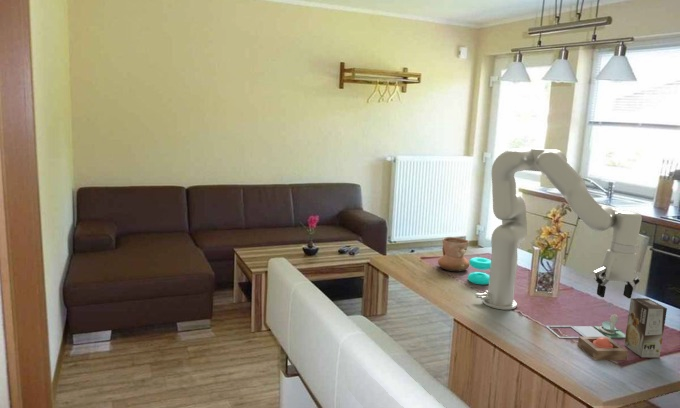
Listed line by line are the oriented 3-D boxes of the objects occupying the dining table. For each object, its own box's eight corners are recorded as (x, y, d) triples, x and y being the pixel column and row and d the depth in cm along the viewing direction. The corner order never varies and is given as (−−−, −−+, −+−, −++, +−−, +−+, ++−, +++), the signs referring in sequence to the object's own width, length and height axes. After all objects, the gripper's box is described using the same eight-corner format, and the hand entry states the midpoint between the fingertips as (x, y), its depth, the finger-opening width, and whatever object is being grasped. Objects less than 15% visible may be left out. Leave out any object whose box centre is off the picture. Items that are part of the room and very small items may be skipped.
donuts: (465, 256, 228) (485, 256, 231) (463, 278, 230) (483, 277, 232) (476, 263, 219) (497, 262, 221) (474, 286, 220) (495, 285, 223)
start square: (559, 338, 170) (559, 337, 170) (545, 326, 180) (545, 325, 180) (587, 338, 171) (587, 337, 171) (571, 326, 181) (571, 325, 181)
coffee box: (660, 358, 159) (668, 308, 157) (641, 357, 159) (649, 308, 156) (641, 344, 168) (648, 297, 166) (622, 344, 168) (629, 297, 165)
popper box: (595, 360, 156) (597, 350, 155) (577, 345, 166) (578, 336, 165) (626, 360, 157) (628, 350, 156) (606, 345, 167) (608, 336, 166)
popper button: (598, 355, 158) (600, 341, 157) (588, 347, 164) (590, 334, 163) (615, 355, 159) (617, 341, 158) (604, 347, 164) (606, 334, 163)
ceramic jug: (476, 273, 238) (479, 243, 236) (448, 274, 233) (450, 244, 231) (456, 263, 255) (459, 235, 253) (430, 264, 250) (432, 235, 248)
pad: (609, 338, 172) (609, 337, 172) (594, 327, 181) (594, 326, 181) (629, 338, 173) (629, 337, 173) (612, 327, 182) (612, 326, 182)
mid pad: (587, 338, 172) (587, 337, 172) (572, 327, 180) (572, 326, 180) (606, 338, 172) (606, 337, 172) (591, 327, 181) (591, 326, 181)
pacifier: (607, 336, 173) (624, 336, 174) (609, 318, 172) (626, 318, 173) (594, 327, 180) (610, 327, 181) (596, 310, 179) (612, 310, 180)
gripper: (639, 246, 177) (630, 293, 180) (592, 243, 175) (583, 291, 178) (654, 252, 169) (644, 301, 173) (605, 250, 168) (596, 299, 171)
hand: (613, 296), depth 176 cm, fingers open, 9 cm apart
